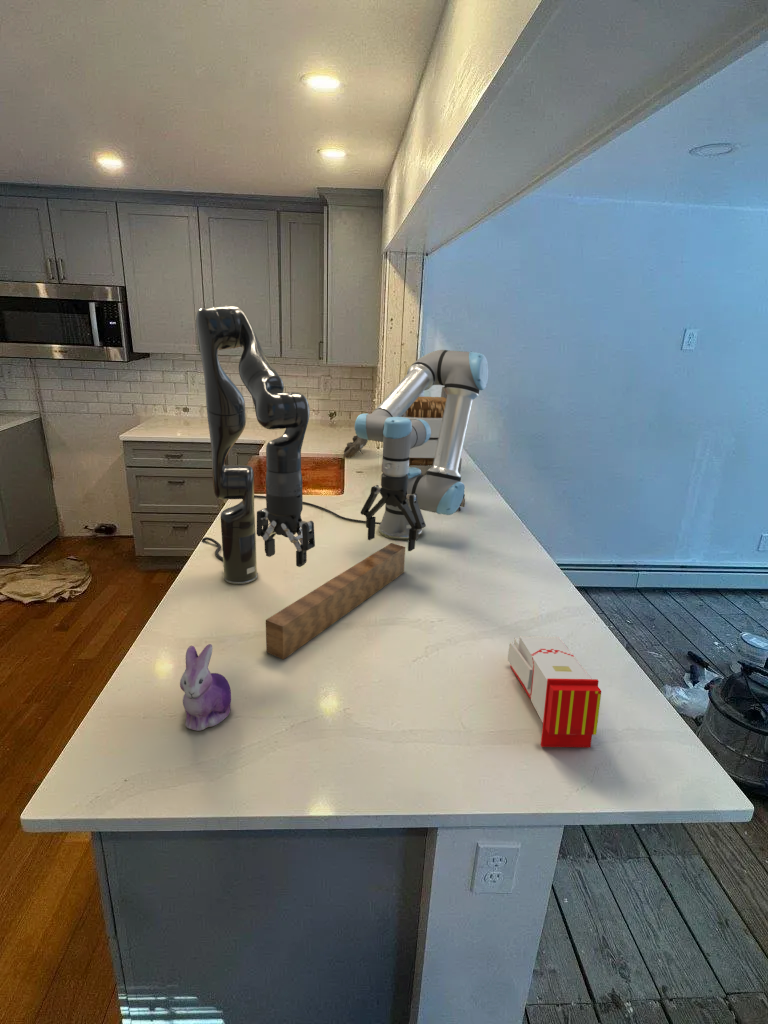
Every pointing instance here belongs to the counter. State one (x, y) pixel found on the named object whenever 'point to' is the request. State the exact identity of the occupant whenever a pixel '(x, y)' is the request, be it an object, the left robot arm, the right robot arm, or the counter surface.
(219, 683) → the figurine
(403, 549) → the post
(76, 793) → the counter surface
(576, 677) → the toy
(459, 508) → the figurine character
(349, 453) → the fossil
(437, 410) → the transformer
